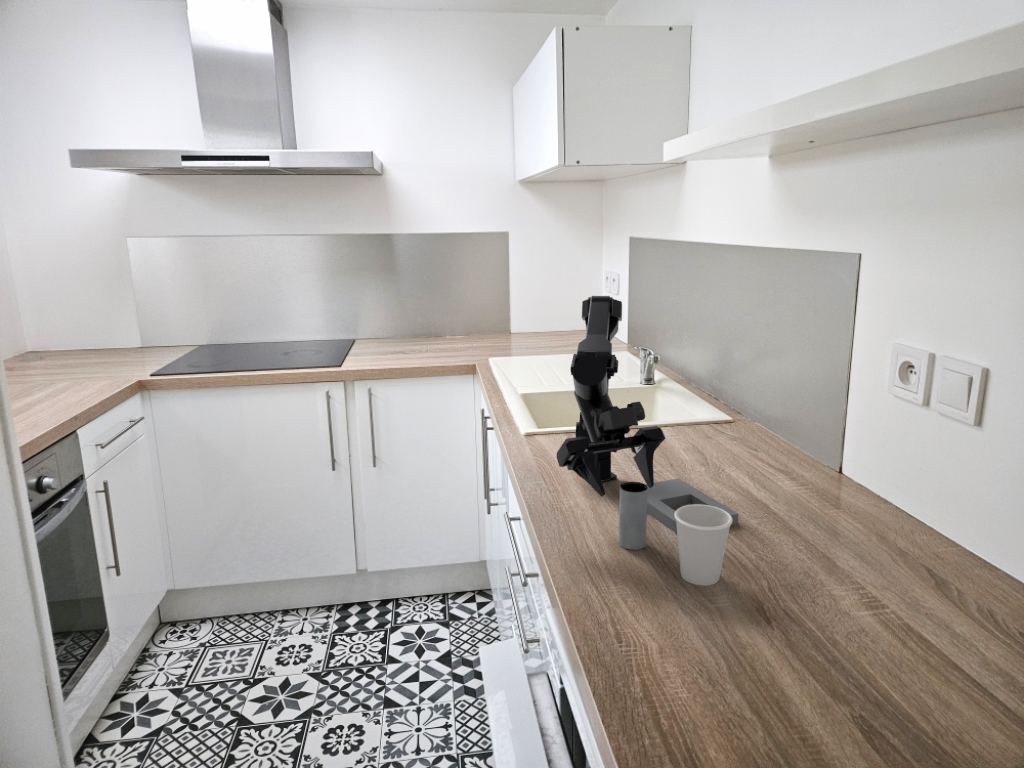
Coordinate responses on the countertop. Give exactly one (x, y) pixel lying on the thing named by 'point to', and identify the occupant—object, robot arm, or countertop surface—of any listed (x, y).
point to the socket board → (678, 501)
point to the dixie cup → (701, 542)
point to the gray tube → (633, 515)
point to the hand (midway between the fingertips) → (627, 491)
